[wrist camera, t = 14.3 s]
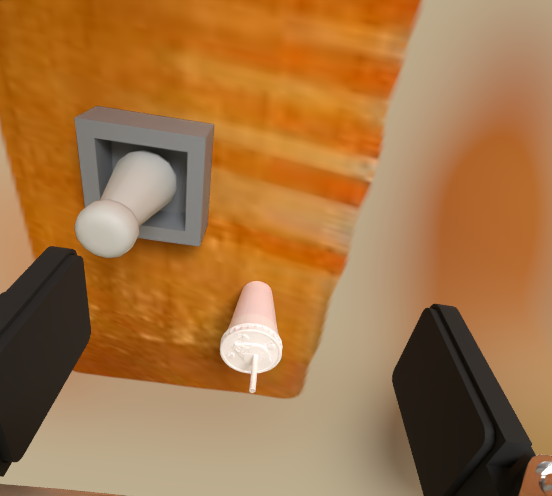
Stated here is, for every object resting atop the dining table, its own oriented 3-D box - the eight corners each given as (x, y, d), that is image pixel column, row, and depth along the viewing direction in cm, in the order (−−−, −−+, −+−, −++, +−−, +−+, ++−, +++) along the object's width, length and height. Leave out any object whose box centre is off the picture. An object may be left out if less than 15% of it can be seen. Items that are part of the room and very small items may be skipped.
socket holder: (96, 105, 37) (74, 117, 33) (214, 124, 37) (205, 137, 34) (105, 210, 42) (87, 231, 39) (207, 225, 43) (199, 246, 39)
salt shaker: (120, 189, 40) (56, 259, 29) (126, 135, 37) (58, 190, 26) (177, 205, 41) (136, 279, 30) (187, 153, 38) (146, 214, 27)
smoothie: (266, 320, 50) (260, 418, 38) (221, 300, 49) (200, 395, 37) (293, 286, 47) (295, 381, 35) (246, 263, 46) (231, 354, 34)
